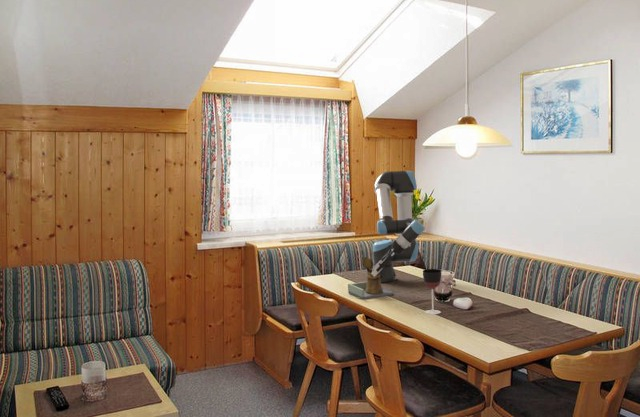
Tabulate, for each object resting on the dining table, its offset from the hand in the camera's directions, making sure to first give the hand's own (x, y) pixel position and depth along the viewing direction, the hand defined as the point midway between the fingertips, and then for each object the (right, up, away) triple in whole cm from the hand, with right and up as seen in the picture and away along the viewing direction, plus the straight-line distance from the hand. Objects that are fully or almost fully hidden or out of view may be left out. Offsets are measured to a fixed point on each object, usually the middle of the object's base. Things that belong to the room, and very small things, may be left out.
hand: (373, 272), depth 324 cm
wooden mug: (0, -11, +3) cm, 11 cm away
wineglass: (+25, -15, -37) cm, 47 cm away
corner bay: (-1, -12, +2) cm, 12 cm away
